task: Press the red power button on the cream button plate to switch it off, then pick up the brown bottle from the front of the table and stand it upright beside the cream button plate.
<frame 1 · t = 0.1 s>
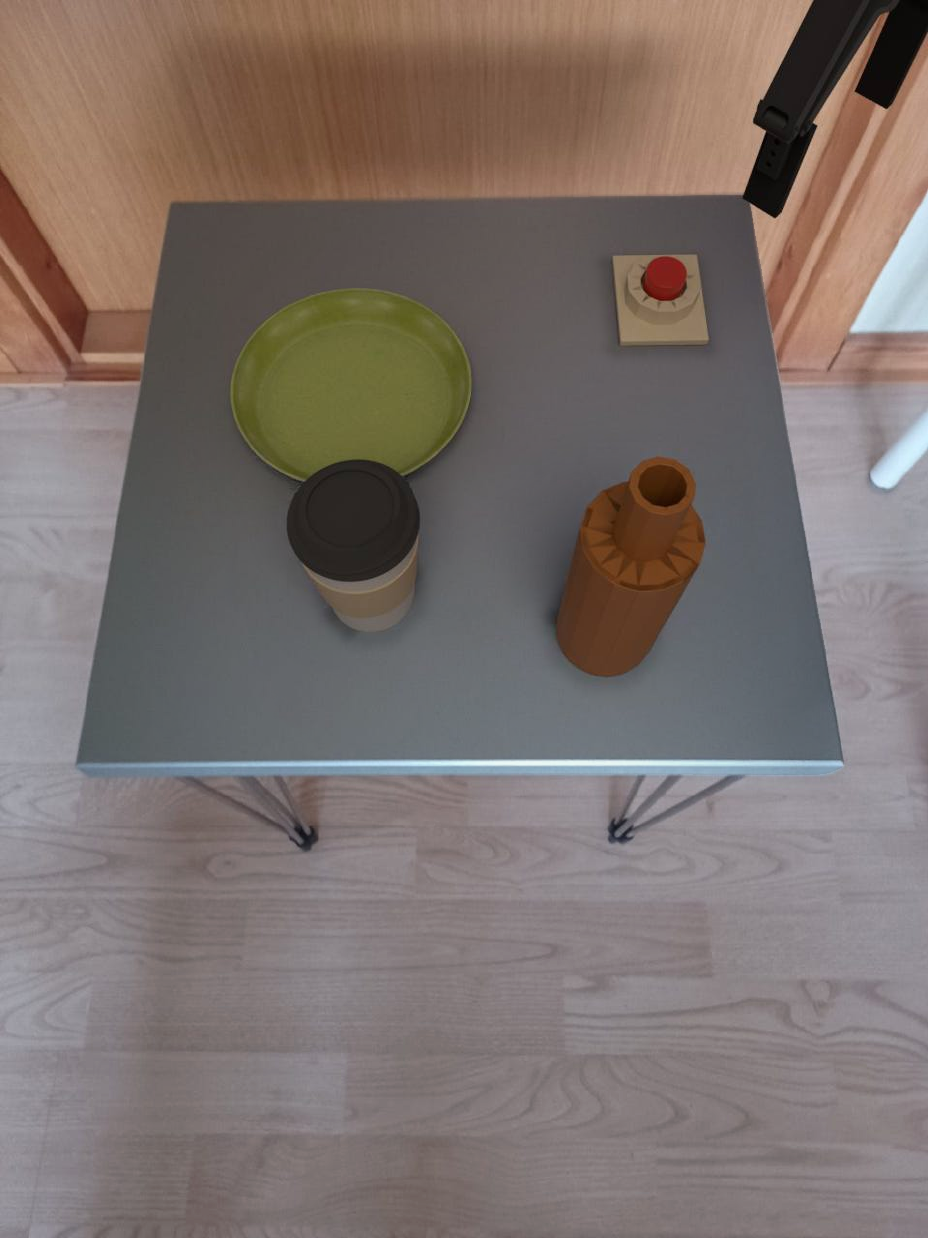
hand: (818, 150, 60), 21 cm above the table, tool pointing down, fingers open, 13 cm apart
power button: (664, 278, 78), point 3 cm above the table, slide at 0.1 cm
coffee cup: (373, 593, 71), on the table
cream button plate: (658, 301, 81), on the table
green plate: (355, 405, 77), on the table
brown bottle: (603, 631, 69), on the table
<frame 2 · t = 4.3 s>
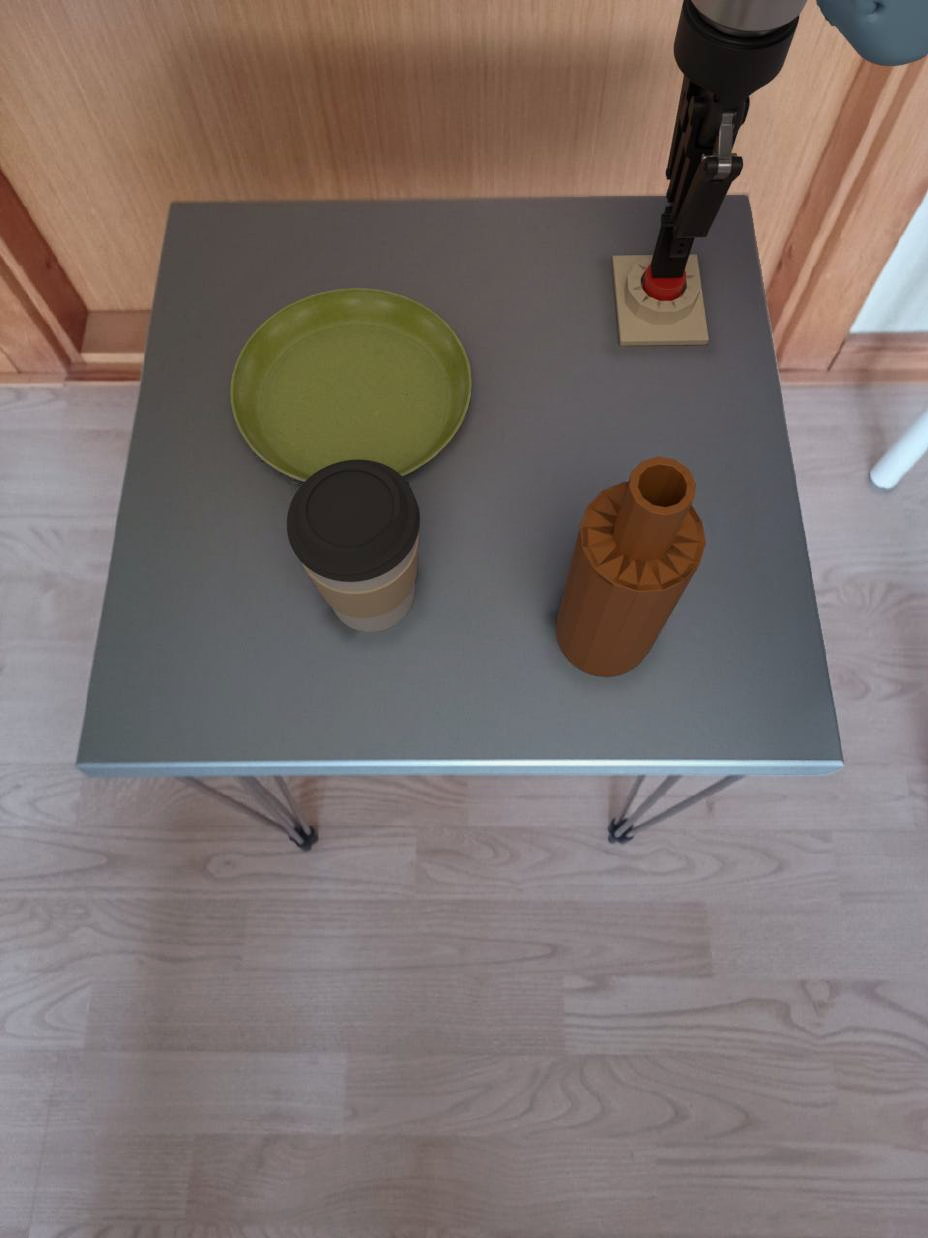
hand: (666, 270, 78), 4 cm above the table, tool pointing down, fingers closed
power button: (664, 280, 79), point 3 cm above the table, slide at -0.2 cm, touching gripper
everything else where it was.
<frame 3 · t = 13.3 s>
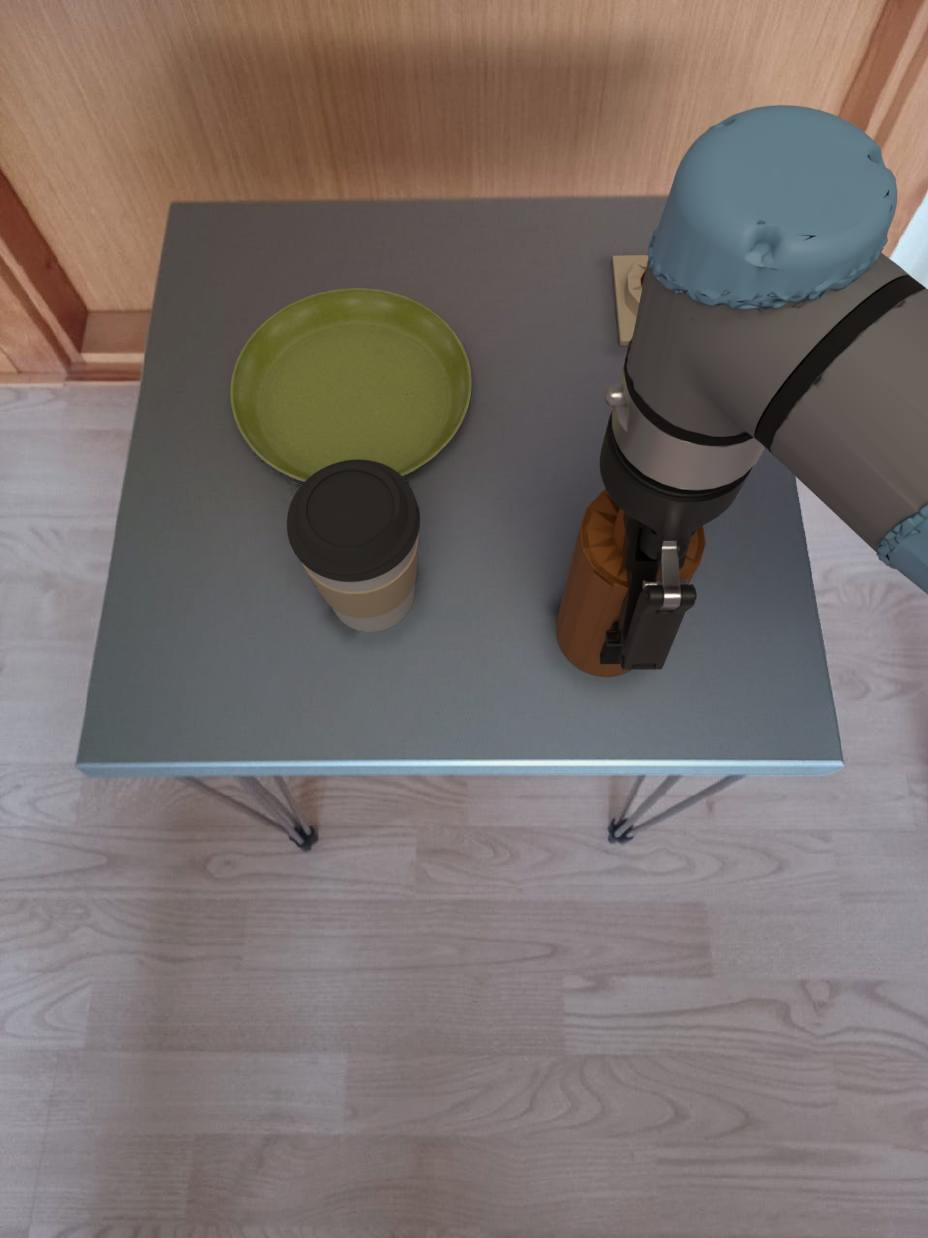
hand: (614, 605, 64), 6 cm above the table, tool pointing down, fingers closed on brown bottle, 8 cm apart
power button: (664, 278, 78), point 3 cm above the table, slide at 0.1 cm
brown bottle: (603, 631, 69), on the table, touching gripper
everything else where it was.
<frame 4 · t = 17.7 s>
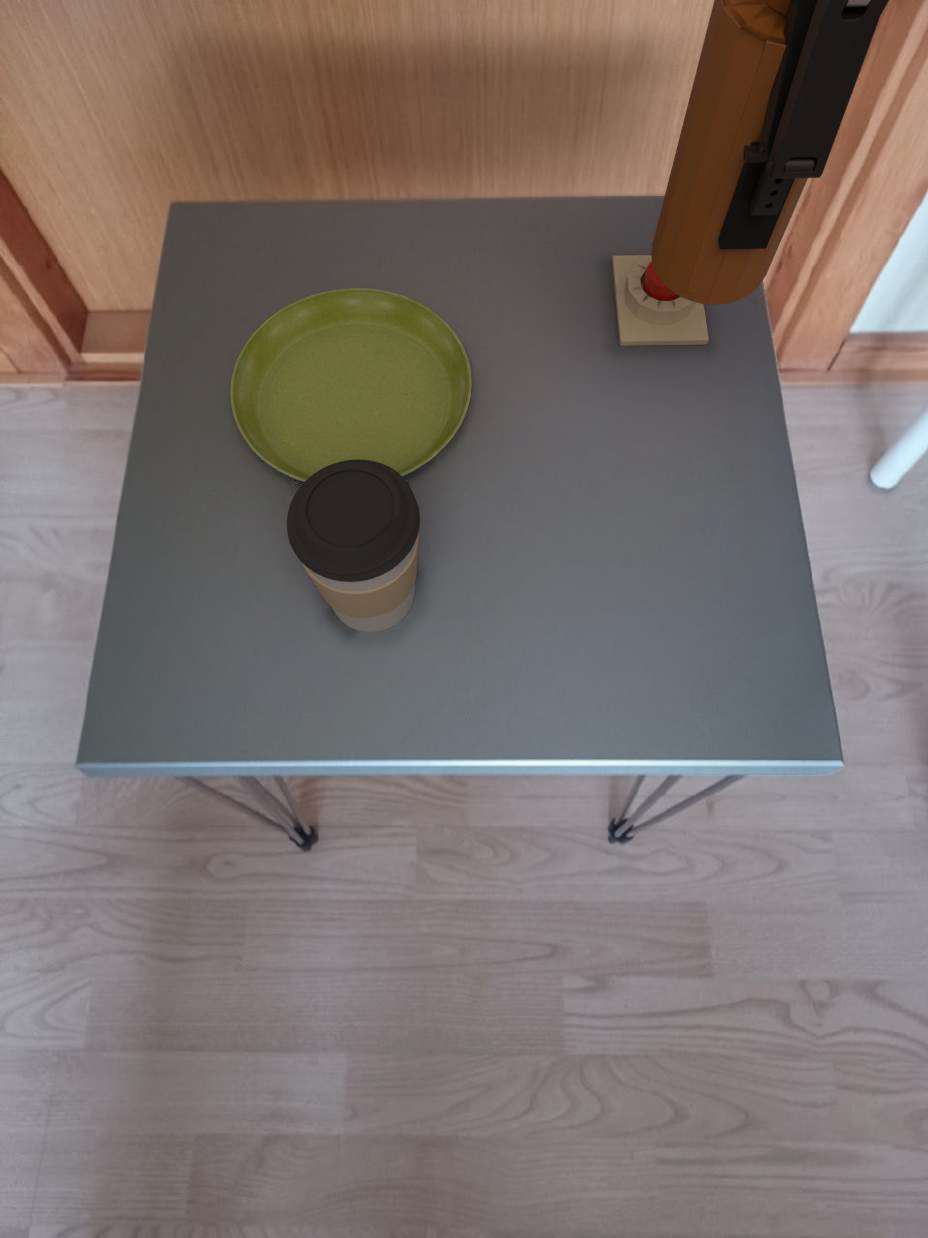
hand: (733, 189, 52), 26 cm above the table, tool pointing down, fingers closed on brown bottle, 8 cm apart
brown bottle: (708, 258, 57), point 20 cm above the table, touching gripper
everything else where it was.
when the fingers open (6 cm above the table, at t = 22.4 s): brown bottle stays where it is, on the table.
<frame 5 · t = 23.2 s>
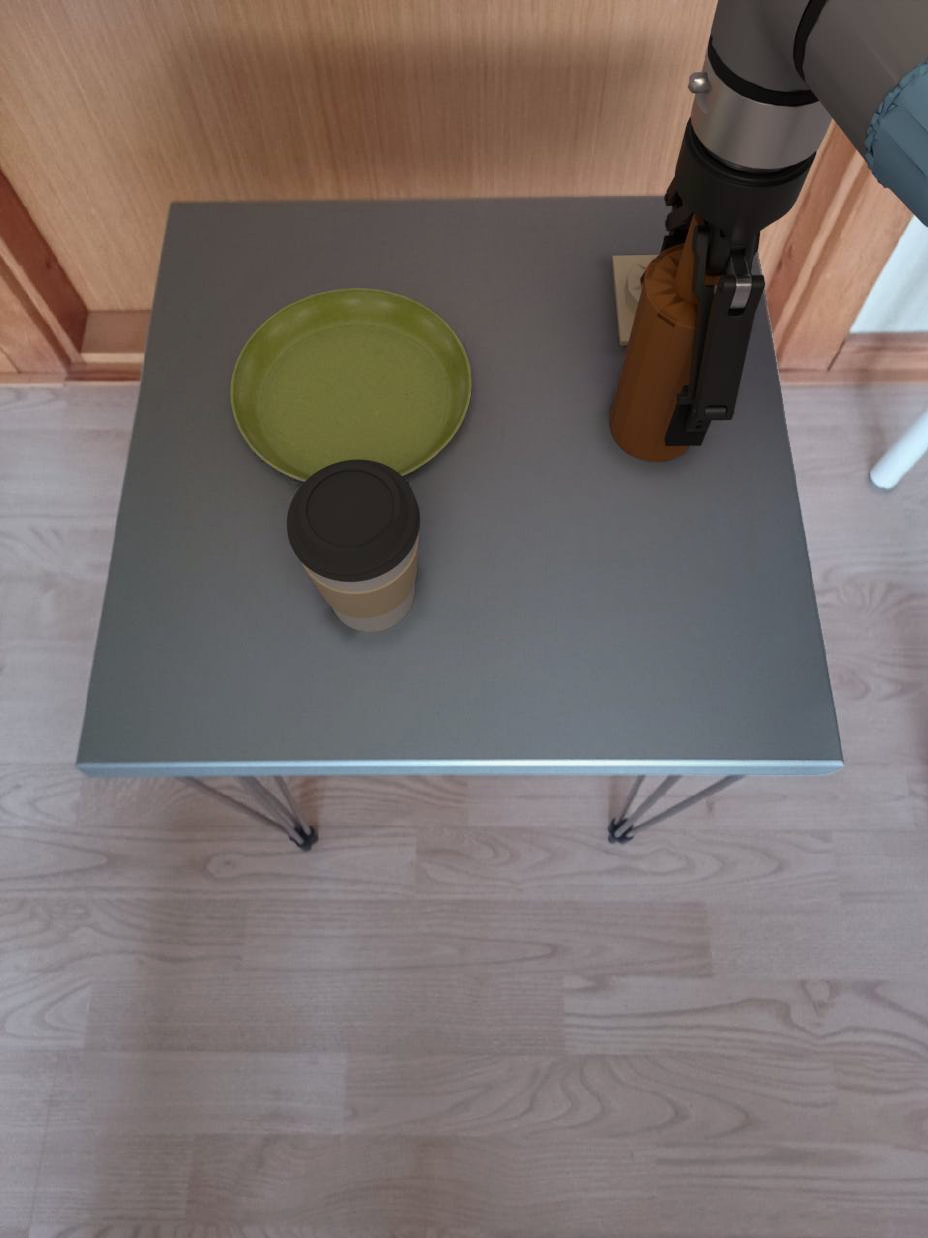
hand: (673, 368, 69), 8 cm above the table, tool pointing down, fingers open, 13 cm apart
brown bottle: (652, 424, 76), on the table
everything else where it was.
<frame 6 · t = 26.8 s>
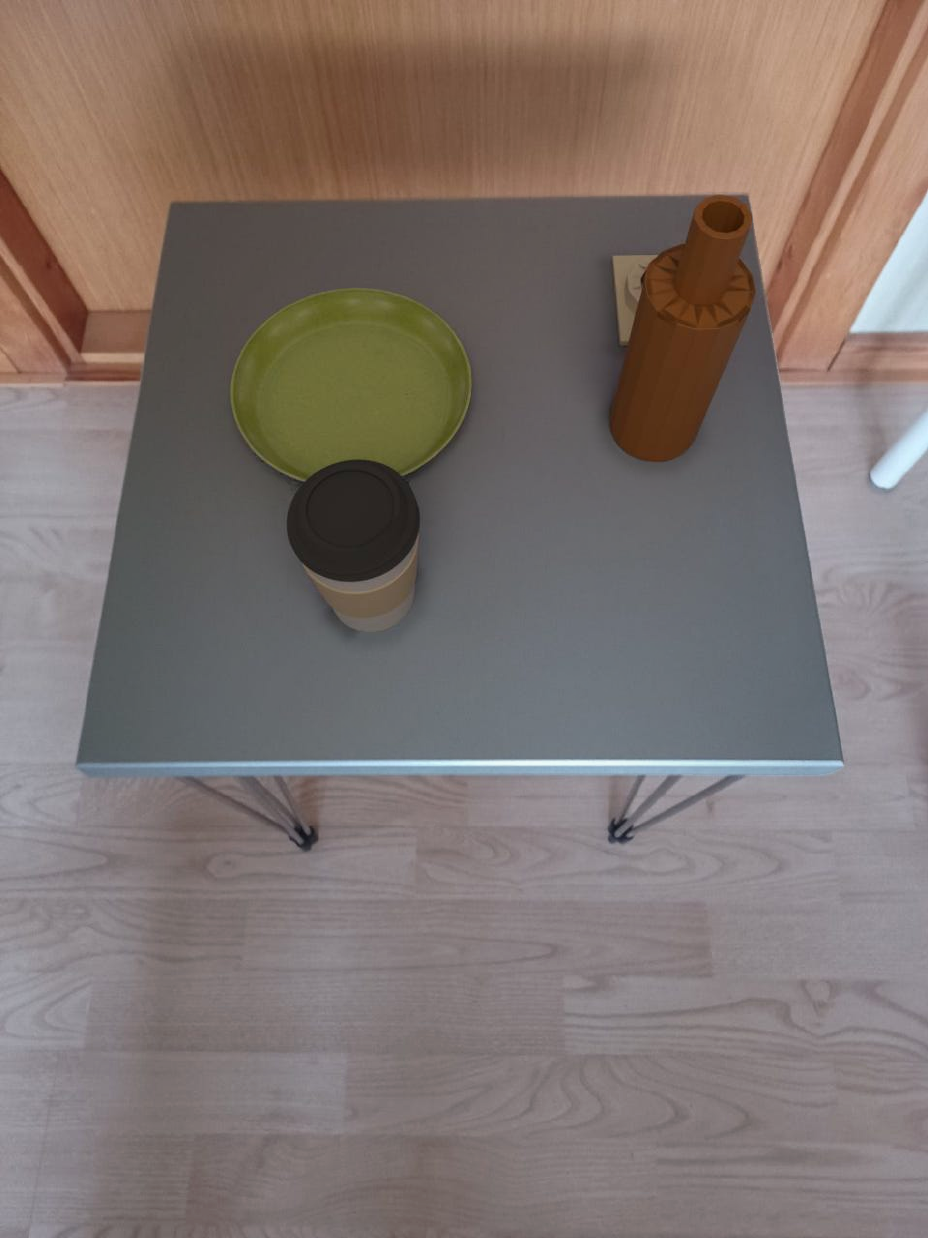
nothing on the table moved.
at the end: power button pushed in 1.0 cm at the most during the clip, back to where it started at the end; brown bottle 13.6 cm from the cream button plate (horizontally); brown bottle tilted 0° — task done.
